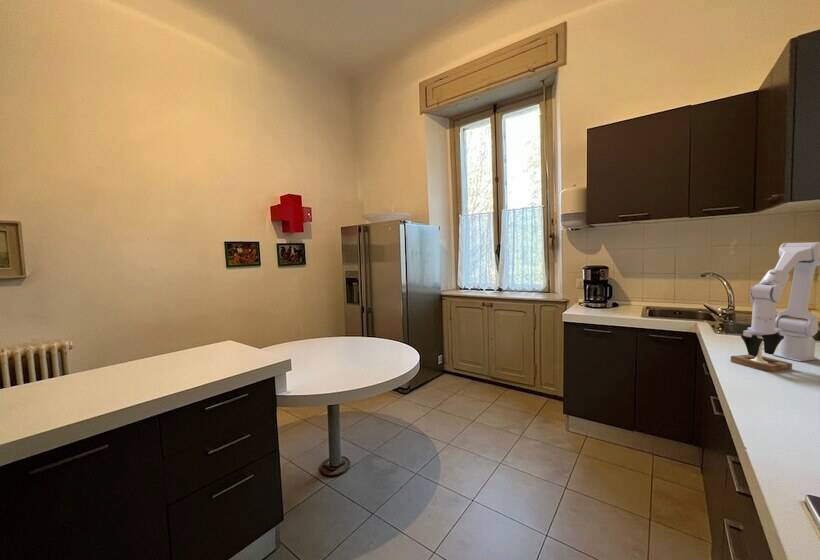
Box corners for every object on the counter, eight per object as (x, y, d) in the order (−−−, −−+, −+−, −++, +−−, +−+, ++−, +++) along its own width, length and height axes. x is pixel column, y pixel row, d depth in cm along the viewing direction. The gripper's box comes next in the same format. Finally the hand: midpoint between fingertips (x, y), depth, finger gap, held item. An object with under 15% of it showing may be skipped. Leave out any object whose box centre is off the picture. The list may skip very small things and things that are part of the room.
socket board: (753, 358, 124) (753, 353, 124) (791, 369, 113) (792, 363, 113) (730, 361, 122) (730, 356, 122) (767, 372, 111) (768, 366, 111)
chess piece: (772, 366, 115) (774, 338, 114) (756, 365, 116) (758, 338, 115) (761, 361, 120) (762, 335, 119) (745, 360, 121) (746, 334, 120)
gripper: (765, 314, 121) (762, 349, 122) (734, 316, 118) (732, 352, 120) (790, 318, 114) (787, 355, 115) (758, 320, 111) (755, 359, 113)
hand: (760, 354), depth 117 cm, fingers open, 7 cm apart
